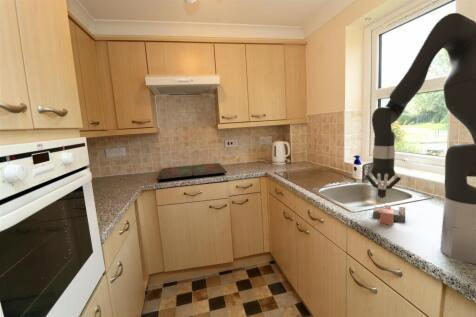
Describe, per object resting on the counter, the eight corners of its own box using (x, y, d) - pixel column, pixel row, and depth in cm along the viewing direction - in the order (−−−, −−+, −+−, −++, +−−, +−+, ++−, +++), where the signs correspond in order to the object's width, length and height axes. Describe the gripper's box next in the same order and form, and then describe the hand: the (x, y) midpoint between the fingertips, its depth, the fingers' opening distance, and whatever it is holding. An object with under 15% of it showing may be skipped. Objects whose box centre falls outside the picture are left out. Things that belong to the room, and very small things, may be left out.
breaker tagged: (390, 211, 97) (390, 205, 97) (385, 210, 98) (385, 204, 98) (390, 209, 99) (391, 203, 98) (385, 208, 100) (385, 203, 99)
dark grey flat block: (404, 222, 93) (405, 214, 92) (373, 217, 99) (373, 209, 98) (404, 216, 97) (405, 209, 97) (374, 212, 104) (374, 205, 103)
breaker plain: (405, 213, 94) (405, 207, 94) (399, 212, 95) (399, 206, 95) (404, 211, 96) (405, 205, 95) (399, 210, 97) (399, 204, 97)
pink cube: (393, 224, 91) (393, 214, 90) (379, 222, 93) (380, 212, 93) (393, 220, 94) (393, 210, 94) (380, 218, 97) (381, 208, 96)
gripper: (364, 157, 96) (363, 197, 99) (403, 158, 89) (401, 202, 92) (366, 154, 103) (364, 193, 105) (402, 155, 95) (400, 197, 98)
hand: (381, 197), depth 98 cm, fingers closed
